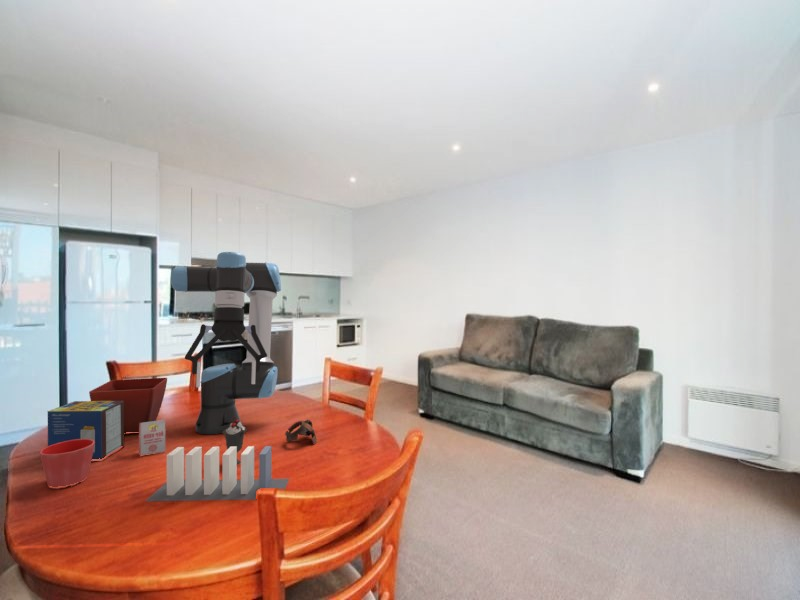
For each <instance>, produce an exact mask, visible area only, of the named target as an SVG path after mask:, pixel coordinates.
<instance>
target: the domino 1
mask: <svg viewBox="0 0 800 600" xmlns="http://www.w3.org/2000/svg"><path fill="white" fill-rule="evenodd" d="M184 480H185V447H184V446H177V447H176V448H175V449H173V450H172V451H170V452H169V453H167V454H166V482H167V495H174V494H175V493H176V492H177V491H178V490H179V489H180V488H181V487H182V486H183V485H184Z"/></svg>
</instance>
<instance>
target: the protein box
mask: <svg viewBox="0 0 800 600" xmlns="http://www.w3.org/2000/svg"><path fill="white" fill-rule="evenodd" d="M123 409H124V408H123V401H91V400H84V401H83V400H81V401H80V400H77V401H76V400H75V401H71V402H69V403H66V404H64V405H60V406H58V407H55V408H53V409H50V410H47V447H48V446H50V445H53V444H57V443H60V442H64V441H69V440H76V439H91V440H94V441H95V445H94V450H93V455H92V459H99V458H100V459H102V458H104V457H105V456H107V455H108V454H110V453H112V452H113V451H115V450H117V449H118V448H120V447H121V446H123V445H124V446H125V442H124V440H125V439H124V438H125V435H124V411H123Z"/></svg>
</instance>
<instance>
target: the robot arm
mask: <svg viewBox="0 0 800 600" xmlns="http://www.w3.org/2000/svg"><path fill="white" fill-rule="evenodd" d="M246 259H247V258H246V255H244V254H243V253H240V252H235V251H221V252H219V253H218V254H217V257H216V263H215V266H184V265H183V266H175V267H173V269H171V274H170V284H171V287H172V288H173V290H174V291H176V292H184V293H188V292H189V293H191V292H193V293H195V292H196V293H197V292H200V293H201V292H203V293H205V292H206V293H210V292H211V293H212V292H213V293H214V306H215V308H214V309H213V313H214V314H213V325H207V324H201V325H200V328H199V333H198V335H197V336H196V338H195V340H194V341H193V343H192V345H191V346H190V348H189V349H188V351H187V352H186V354H185V355H184V359H185V360H187V361H190V362H191V363H192V364H191V365H192V366H191V373H192V375H196V381H195V387H196V388H200V410H199V413H198V416H197V418H196V419H197V420H196V422H195V432H196V433H197V432H198V434H200V435H217V434H218V435H220V434H223V433H222V432H223V431H224V430H225V429H227V428H228V427H229V426H230V424H231V423H232V422H233V419H234V421H235V419H237V420H238V421H240V422H241V417H240V414H239V411H238V409H237V405H236V400H247V399H248V400H249V399H250V400H251V399H252V400H253V399H258V400H259V399H260V400H261V399H265V398H271V397H272V396H273V394H274V393H275V390H276V386H277V381H278V372H279V371H278V370H279V369H278V367H277V366H276V365H275V364H274V363H275V362H274V361H273V360H272V358H271V346H272V345H271V344H272V343H271V341H272V323H273V322H272V318H273V300H274V299H276V297H277V294H278V293H277V292H281V291H282V283H281V275H280V274H281V273H280V269H279V266H278V264H276V263H272V262H270V263H269V262H247V261H246ZM245 294H246V296H247V297H248V298H249V310H248V311H249V312H248V325H245V324H244V321H245V320H244V319H245V309H244V308H243V307H245ZM210 331H212V332H213V334H214V336H213V338H212V339H210V340H209V341H208V343H207V344H205V345H204V346H203V348H201V350H199V352H198V353H196V355H195V356H193V354H194V353H195V351H196V349H198V346H199V344H200V343H201V342H202V340H203V338H204V337H205V334H207V333H209V332H210ZM245 331H247V340H246V339H245V337H243V334H244V332H245ZM237 340H238V341H239V343H240V344H241V345H242V346H243V348H245V349H246V358H245V359H244V360H243V361H242V362H241V367H237V365H236V364H235V363H223V364H217V365H213V366H209V367H207V368H204V369H203V370H202V369H201V367H202V366H201V365H202V362H201V361H199V360H200V359H201V358H202V357H203V356H204V355H205V354H206V353H207V352H208V351H209V350H210V348H212V347H213V345H215V344H216V343H217V342H218V341H220V342H228V341H229V342H236V341H237ZM201 370H202V371H201ZM235 416H236V417H235ZM234 417H235V418H234Z"/></svg>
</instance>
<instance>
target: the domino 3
mask: <svg viewBox="0 0 800 600" xmlns="http://www.w3.org/2000/svg"><path fill="white" fill-rule="evenodd" d="M203 480H204V495H211V493H212V492H213V491H214V490H215V489H216V488H217V486H218V485H219V480H220V446H212V447H211V448H210V449H208V451H207V452H206V453H204V455H203Z"/></svg>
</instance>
